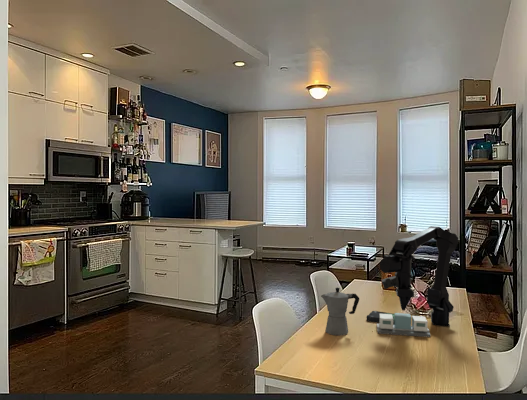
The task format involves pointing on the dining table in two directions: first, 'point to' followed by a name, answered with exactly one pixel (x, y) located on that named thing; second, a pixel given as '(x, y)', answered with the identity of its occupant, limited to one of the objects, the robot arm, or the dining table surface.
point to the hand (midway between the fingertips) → (402, 309)
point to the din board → (416, 329)
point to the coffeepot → (338, 311)
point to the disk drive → (377, 316)
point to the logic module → (402, 321)
